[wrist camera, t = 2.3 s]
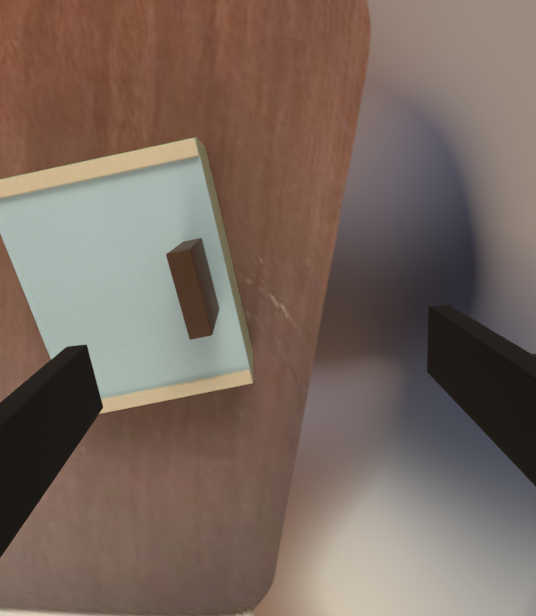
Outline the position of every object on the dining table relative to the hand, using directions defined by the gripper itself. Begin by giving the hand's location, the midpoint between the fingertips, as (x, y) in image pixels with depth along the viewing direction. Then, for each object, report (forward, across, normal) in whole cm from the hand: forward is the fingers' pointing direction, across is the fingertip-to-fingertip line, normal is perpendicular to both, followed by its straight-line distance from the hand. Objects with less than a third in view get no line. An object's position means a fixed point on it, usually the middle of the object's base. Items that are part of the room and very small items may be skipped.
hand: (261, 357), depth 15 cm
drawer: (+18, -10, -1) cm, 20 cm away
